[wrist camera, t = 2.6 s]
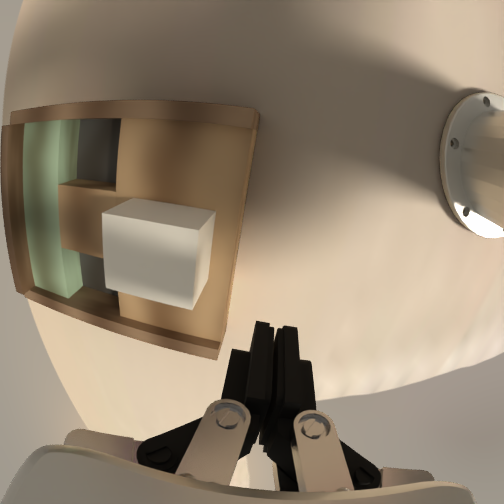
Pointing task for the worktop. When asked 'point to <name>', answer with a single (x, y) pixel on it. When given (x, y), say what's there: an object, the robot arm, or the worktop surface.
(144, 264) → the cream block
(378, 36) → the worktop surface
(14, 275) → the box
